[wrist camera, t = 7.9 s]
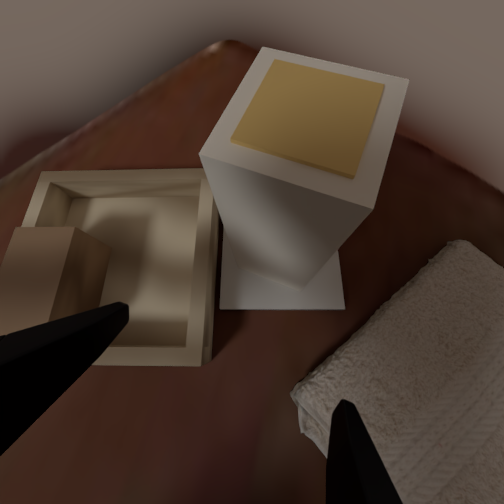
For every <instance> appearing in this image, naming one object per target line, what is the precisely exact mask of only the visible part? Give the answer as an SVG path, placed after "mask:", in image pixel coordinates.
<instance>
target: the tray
mask: <svg viewBox="0 0 504 504" xmlns="http://www.w3.org/2000/svg"><path fill="white" fill-rule="evenodd" d="M219 219H220V214H219V211H218V208H217V205H216V202H215V199H214V197H213V194H212V191H211V188H210V185H209V182H208V179H207V176H206V173H205V171H204V168H190V169H141V170H93V171H45V172H41V175H40V177H39V180H38V183H37V185H36V188H35V191H34V194H33V196H32V199H31V202H30V205H29V207H28V210H27V213H26V215H25V218H24V221H23V224H22V226H21V227H73V226H75V227H77V228H79V229H80V230H82V231H84V232H85V233H87V234H89V235H90V236H92V237H94V238H96V239H97V240H99V241H101V242H102V243H104V244H106V245H108V246H109V247H111V248H112V250H111V255H110V259H109V264H108V268H107V273H106V278H105V282H104V287H103V291H102V296H101V300H100V305H99V307H101V306H104V305H108V304H111V303H115V302H119V301H121V302H123V303H126V304H128V305H129V322H128V323H127V325H126V326H125V327H124V329H123V330H122V331H121V332H120V333H119V335H118V336H117V337H116V338H115V339H114V341H113V342H112V343H111V344H110V345H109V347H108V348H107V349H106V350H105V351H104V352H103V354H102V355H101V356H100V357H99V358H98V359H97V360H96V361H95V362H94V363H93V364H92V365H132V366H202V365H204V364H206V363H208V362H210V361H211V357H212V340H213V322H214V305H215V288H216V271H217V253H218V236H219Z"/></svg>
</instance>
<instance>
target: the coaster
mask: <svg viewBox="0 0 504 504" xmlns="http://www.w3.org/2000/svg"><path fill="white" fill-rule="evenodd" d="M344 309H345V304H344V296H343V288H342V280H341V271H340V263H339V255H338V250H337V251H336V252H335V253H334V254H333V255H332V256H331V258H330V259H329V260H328V261H327V262H326V263H325V264H324V265H323V267H322V268H321V269H320V270H319V271H318V272H317V273H316V274H315V276H314V277H313V278H312V279H311V280H310V281H309V282H308V284H307V285H306V286H305V287H304V288H303V289H302V290H301V291H300V292H299V291H297V290H294V289H292V288H289V287H287V286H284V285H282V284H279V283H276V282H274V281H271V280H269V279H266V278H264V277H261V276H259V275H256V274H253V273H251V272H248V271H246V270H243V269H241V268H238V266H237V263H236V260H235V257H234V255H233V252H232V249H231V246H230V243H229V240H228V237H227V234H226V231H225V228H224V230H223V250H222V270H221V289H220V310H344Z"/></svg>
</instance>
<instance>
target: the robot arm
mask: <svg viewBox="0 0 504 504" xmlns="http://www.w3.org/2000/svg"><path fill="white" fill-rule="evenodd" d="M128 322H129V305H128V304H126V303H123V302H121V301H119V302H115V303H111V304H108V305H104V306H101V307H98V308H94V309H91V310H87V311H84V312H81V313H77V314H74V315H70V316H67V317H63V318H60V319H57V320H53V321H50V322H46V323H43V324H40V325H36V326H33V327H29V328H26V329H23V330H19V331H16V332H12V333H9V334H7V335H2V336H0V456H1V455H2V454H3V453H4V452H5V451H6V450H7V449H8V448H9V447H10V446H11V445H12V444H13V443H14V442H15V441H16V440H17V439H18V438H19V437H20V436H21V435H22V434H23V433H24V432H25V431H26V430H27V429H28V428H29V427H30V426H31V425H32V424H33V423H34V422H35V421H36V420H37V419H38V418H39V417H40V416H41V415H42V414H43V413H44V412H45V411H46V410H47V409H48V408H49V407H50V406H51V405H52V404H53V403H54V402H55V401H56V400H57V399H58V398H59V397H60V396H61V395H62V394H63V393H64V392H65V391H66V390H67V389H68V388H69V387H70V386H71V385H72V384H73V383H74V382H75V381H76V380H77V379H78V378H79V377H80V376H81V375H82V374H83V373H84V372H85V371H86V370H87V369H88V368H89V367H90V366H91V365H92V364H93V363H94V362H95V361H96V360H97V359H98V358H99V357H100V356H101V355H102V354H103V352H104V351H105V350H106V349H107V348H108V347H109V345H110V344H111V343H112V342H113V341H114V339H115V338H116V337H117V336H118V335H119V333H120V332H121V331H122V330H123V329H124V327H125V326H126V325H127V323H128ZM326 504H403V503H402V501H401V498H400V496H399V494H398V492H397V490H396V488H395V486H394V484H393V482H392V480H391V478H390V476H389V474H388V472H387V470H386V468H385V466H384V463H383V461H382V459H381V457H380V455H379V453H378V451H377V449H376V447H375V445H374V443H373V441H372V439H371V437H370V435H369V433H368V430H367V428H366V426H365V424H364V422H363V420H362V418H361V416H360V414H359V412H358V410H357V408H356V406H355V404H354V403H352V402H350V401H348V400H346V399H341V400H340V402H339V403H338V405H337V406H336V408H335V409H334V411H333V413H332V417H331V426H330V436H329V445H328V454H327V465H326Z"/></svg>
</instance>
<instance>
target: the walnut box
mask: <svg viewBox="0 0 504 504" xmlns="http://www.w3.org/2000/svg"><path fill="white" fill-rule="evenodd" d="M111 250H112V248H111V247H109V246H108V245H106V244H104V243H102V242H101V241H99V240H97V239H96V238H94V237H92V236H90V235H89V234H87V233H85V232H84V231H82V230H80V229H79V228H77V227H75V226H73V227H16V228H15V230H14V233H13V236H12V238H11V241H10V244H9V246H8V249H7V252H6V254H5V257H4V260H3V262H2V265H1V268H0V336H2V335H7V334H9V333H12V332H16V331H19V330H23V329H26V328H29V327H33V326H36V325H40V324H43V323H46V322H50V321H53V320H57V319H60V318H63V317H67V316H70V315H74V314H77V313H81V312H84V311H87V310H91V309H94V308H98V307H99V305H100V300H101V296H102V291H103V287H104V282H105V278H106V273H107V268H108V264H109V259H110V255H111Z"/></svg>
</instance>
